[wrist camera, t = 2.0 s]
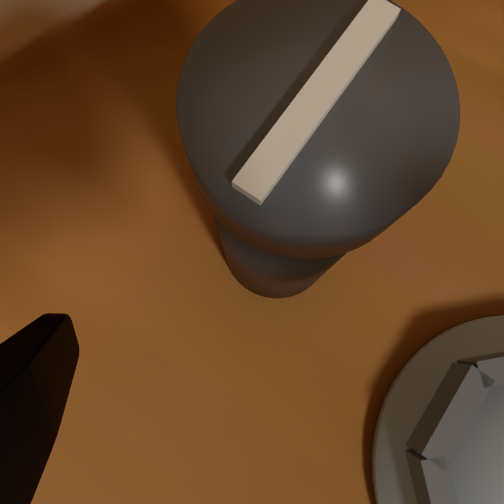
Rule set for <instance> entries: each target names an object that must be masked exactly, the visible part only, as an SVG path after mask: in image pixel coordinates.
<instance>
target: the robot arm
mask: <svg viewBox="0 0 504 504" xmlns="http://www.w3.org/2000/svg"><path fill="white" fill-rule="evenodd" d="M78 358H79V344H78V340H77V337H76V333H75V330H74V327H73V323H72V320H71V318H70V316H69V315H67V314H62V313H47V314H44V315H42V316H40V317H39V318H37V319H36V320H34V321H33V322H31V323H30V324H29V325H27V326H26V327H24V328H23V329H21V330H20V331H18V332H17V333H15V334H14V335H13V336H11V337H10V338H8V339H7V340H5V341H4V342H2V343H1V344H0V504H31V501H32V499H33V496H34V494H35V491H36V489H37V486H38V484H39V481H40V479H41V476H42V474H43V471H44V469H45V466H46V463H47V461H48V458H49V456H50V453H51V451H52V448H53V445H54V443H55V440H56V437H57V434H58V431H59V427H60V424H61V421H62V417H63V413H64V410H65V406H66V402H67V399H68V395H69V391H70V388H71V384H72V380H73V377H74V373H75V369H76V366H77V362H78Z"/></svg>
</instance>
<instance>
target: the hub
mask: <svg viewBox="0 0 504 504" xmlns="http://www.w3.org/2000/svg"><path fill="white" fill-rule="evenodd" d="M371 460H372V483H373V489H374V496H375V502H376V504H504V315H501V316H492V317H483V318H479V319H475V320H471V321H467V322H464V323H462V324H459V325H457V326H454V327H452V328H449V329H447V330H446V331H444V332H442V333H441V334H439V335H437V336H435V337H434V338H432V339H431V340H430V341H428V342H427V343H426V344H425V345H423V346H422V347H421V348H420V349H418V350H417V351H416V352H415V353H414V355H413V356H412V357H411V358H410V359H409V360H408V361H407V362H406V363H405V364H404V366H403V367H402V369H401V370H400V371H399V373H398V374H397V376H396V377H395V379H394V380H393V382H392V384H391V386H390V388H389V390H388V392H387V394H386V396H385V398H384V400H383V403H382V406H381V409H380V412H379V415H378V418H377V423H376V427H375V432H374V437H373V447H372V459H371Z"/></svg>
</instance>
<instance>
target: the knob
mask: <svg viewBox="0 0 504 504" xmlns="http://www.w3.org/2000/svg"><path fill="white" fill-rule="evenodd" d="M176 107H177V119H178V125H179V129H180V133H181V138H182V141H183V144H184V147H185V150H186V153H187V156H188V159H189V162H190V165H191V168H192V171H193V175H194V178H195V181H196V183H197V186H198V188H199V191H200V194H201V195H202V197H203V199H204V201H205V203H206V204H207V206H208V208H209V209H210V210H211V212H212V213H213V214H214V217H215V221H216V225H217V228H218V232H219V236H220V239H221V243H222V247H223V251H224V254H225V258H226V262H227V264H228V267H229V269H230V271H231V273H232V274H233V276H234V277H235V278H236V280H237V281H238V282H239V283H240V284H241V285H242V286H244V287H245V288H246V289H248V290H249V291H251V292H253V293H255V294H257V295H260V296H264V297H269V298H285V297H290V296H294V295H296V294H299V293H301V292H302V291H304V290H306V289H307V288H309V287H310V286H311V285H312V284H313V283H314V282H315V281H317V280H318V279H319V278H320V277H321V276H322V275H323V274H324V273H325V272H326V271H327V270H328V269H330V268H331V267H332V266H333V265H334V264H335V263H336V262H337V261H338V260H339V259H340V258H341V257H343V256H344V255H345V254H346V253H347V252H349V251H352V250H354V249H357V248H359V247H361V246H362V245H364V244H366V243H368V242H370V241H371V240H373V239H374V238H375V237H377V236H378V235H379V234H381V233H382V232H383V231H384V230H386V229H387V228H388V227H389V226H390V225H392V224H393V223H394V222H395V221H397V220H398V219H399V218H400V217H401V216H403V215H404V214H405V213H406V212H407V211H409V210H410V209H411V208H412V207H413V206H415V205H416V204H417V203H418V202H419V201H420V200H421V199H422V198H423V197H424V196H425V195H426V194H427V193H428V192H429V191H430V190H431V189H432V188H433V187H434V185H435V184H436V183H437V181H438V180H439V179H440V177H441V176H442V174H443V172H444V170H445V169H446V167H447V165H448V163H449V161H450V159H451V156H452V154H453V151H454V148H455V145H456V141H457V136H458V131H459V124H460V103H459V93H458V89H457V85H456V81H455V77H454V74H453V72H452V69H451V67H450V64H449V62H448V60H447V58H446V56H445V54H444V53H443V51H442V49H441V47H440V46H439V44H438V43H437V42H436V40H435V39H434V38H433V36H432V35H431V34H430V32H429V31H428V30H427V29H426V28H425V27H424V26H423V25H422V24H421V23H420V22H419V21H418V20H417V19H416V18H415V17H413V16H412V15H411V14H410V13H409V12H407V11H406V10H405V9H403V8H402V7H400V6H399V5H397V4H396V3H394V2H392V1H391V0H237V1H235V2H234V3H232V4H230V5H229V6H227V7H226V8H225V9H224V10H222V11H221V12H220V13H219V14H217V15H216V16H215V17H214V18H213V19H212V20H211V21H210V22H209V23H208V24H207V25H206V26H205V28H204V29H203V30H202V31H201V33H200V34H199V36H198V37H197V38H196V40H195V41H194V43H193V45H192V46H191V48H190V50H189V52H188V54H187V56H186V58H185V61H184V64H183V67H182V69H181V73H180V77H179V82H178V87H177V101H176Z"/></svg>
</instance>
